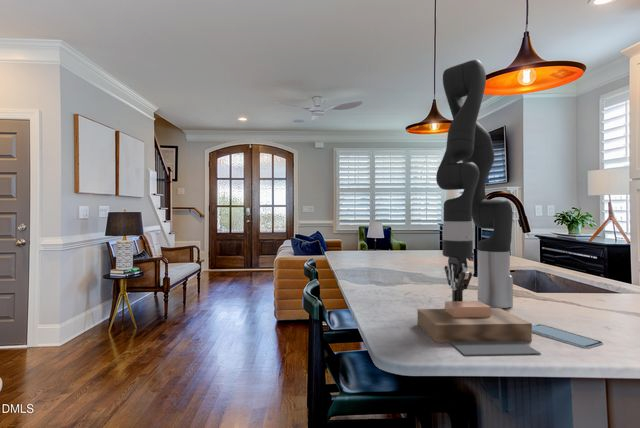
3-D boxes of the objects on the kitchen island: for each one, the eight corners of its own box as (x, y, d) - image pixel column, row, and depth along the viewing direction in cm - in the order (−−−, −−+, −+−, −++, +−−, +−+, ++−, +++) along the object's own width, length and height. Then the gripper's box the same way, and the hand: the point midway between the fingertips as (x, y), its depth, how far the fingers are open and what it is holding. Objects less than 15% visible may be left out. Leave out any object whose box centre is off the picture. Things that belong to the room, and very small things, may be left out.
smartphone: (586, 347, 81) (521, 327, 95) (586, 351, 81) (521, 331, 95) (605, 342, 85) (540, 323, 98) (605, 346, 85) (540, 327, 98)
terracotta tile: (479, 310, 98) (479, 301, 98) (490, 316, 92) (490, 306, 92) (444, 310, 98) (444, 301, 98) (454, 317, 92) (454, 307, 92)
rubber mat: (520, 342, 86) (520, 340, 86) (540, 354, 78) (540, 353, 78) (450, 343, 85) (450, 341, 85) (464, 355, 78) (464, 354, 78)
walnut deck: (499, 323, 100) (499, 308, 100) (531, 341, 86) (531, 323, 86) (417, 324, 99) (417, 309, 99) (436, 342, 85) (436, 324, 85)
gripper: (483, 240, 94) (483, 310, 94) (461, 237, 107) (461, 298, 107) (453, 240, 94) (453, 310, 94) (434, 237, 107) (434, 298, 107)
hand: (457, 304), depth 100 cm, fingers closed
